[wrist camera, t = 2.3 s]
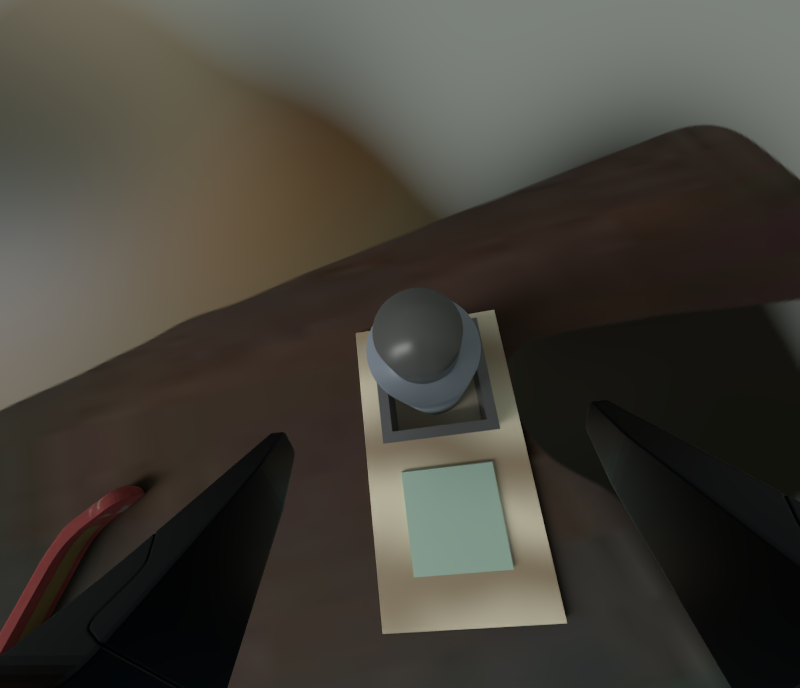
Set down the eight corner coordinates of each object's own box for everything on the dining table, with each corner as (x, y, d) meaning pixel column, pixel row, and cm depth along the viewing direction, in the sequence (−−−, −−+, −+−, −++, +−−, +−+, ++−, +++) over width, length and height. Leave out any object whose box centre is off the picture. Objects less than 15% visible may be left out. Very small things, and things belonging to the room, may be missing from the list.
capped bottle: (468, 410, 19) (503, 389, 8) (407, 418, 20) (355, 410, 8) (457, 350, 20) (473, 255, 9) (400, 360, 21) (344, 280, 9)
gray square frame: (493, 428, 19) (500, 428, 16) (390, 441, 19) (383, 443, 17) (472, 329, 20) (476, 317, 18) (380, 345, 21) (371, 335, 19)
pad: (512, 567, 17) (513, 569, 16) (414, 574, 17) (413, 577, 17) (491, 461, 18) (492, 461, 18) (402, 471, 19) (401, 472, 18)
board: (564, 618, 16) (567, 623, 16) (384, 629, 17) (382, 633, 17) (493, 311, 21) (494, 309, 21) (357, 334, 22) (355, 333, 22)
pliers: (-85, 662, 21) (-157, 695, 18) (147, 474, 22) (109, 480, 20) (-54, 859, 18) (-136, 931, 15) (215, 626, 19) (181, 656, 16)
